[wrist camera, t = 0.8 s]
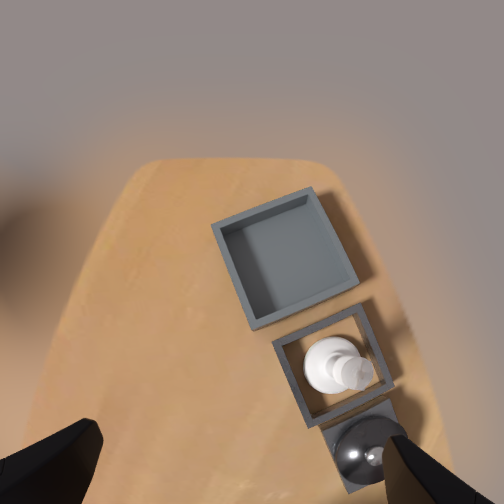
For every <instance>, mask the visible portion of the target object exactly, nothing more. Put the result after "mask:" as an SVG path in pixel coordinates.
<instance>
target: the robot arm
mask: <svg viewBox="0 0 504 504" xmlns="http://www.w3.org/2000/svg"><path fill="white" fill-rule="evenodd" d="M102 446H103V436H102V433H101V431H100V429H99V426H98V424H97V422H96V421H94V420H91V419H88V418H83V419H81V420H79V421H77V422H75V423H74V424H72V425H70V426H68V427H66V428H64V429H62V430H60V431H58V432H56V433H54V434H52V435H51V436H49V437H47V438H45V439H43V440H41V441H39V442H37V443H35V444H33V445H31V446H29V447H26V448H24V449H22V450H20V451H18V452H16V453H14V454H12V455H10V456H8V457H6V458H3V459H1V460H0V504H82V501H83V499H84V497H85V494H86V492H87V490H88V487H89V485H90V483H91V480H92V478H93V475H94V472H95V468H96V465H97V462H98V458H99V455H100V452H101V449H102ZM382 464H383V471H384V478H385V486H386V494H387V500H388V504H495V503H493V502H492V501H490V500H489V499H487V498H486V497H484V496H483V495H481V494H480V493H478V492H476V490H474V489H473V488H472V487H470V486H469V485H467V484H466V483H465V482H464V481H462V480H461V479H460V478H458V477H457V476H456V475H454V474H453V473H452V472H450V471H449V470H448V469H446V468H445V467H444V466H442V465H441V464H440V463H439V462H437V461H436V460H435V459H433V458H432V457H431V456H430V455H428V454H427V453H426V452H424V451H423V450H422V449H421V448H419V447H418V446H417V445H416V444H414V443H413V442H412V441H411V440H409V439H408V438H407V437H406V436H404V435H403V434H397V435H391V436H389V437H388V439H387V442H386V444H385V447H384V449H383V452H382Z"/></svg>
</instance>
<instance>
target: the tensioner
mask: <svg viewBox="0 0 504 504" xmlns="http://www.w3.org/2000/svg"><path fill="white" fill-rule="evenodd" d="M350 315H353V317H354V320H355V322H356V324H357V327H358V329H359V331H360V334H361V336H362V338H363V341H364V343H365V346H366V348H367V350H368V353H369V355H370V358H371V360H372V363H373V365H374V368H375V370H376V373H377V375H378V378H379V380H380V382H379V383H377V384H375V385H373V386H371V387H369V388H367V389H365V390H364V391H361V392H359V393H357V394H355V395H353V396H351V397H349V398H347V399H345V400H343V401H341V402H339V403H337V404H334V405H332V406H330V407H328V408H326V409H323V410H321V411H319V412H317V413H314V414H312V415H310V412H309V410H308V408H307V405H306V403H305V401H304V398H303V396H302V393H301V391H300V389H299V386H298V384H297V382H296V379H295V377H294V374H293V372H292V370H291V367H290V365H289V362H288V360H287V358H286V355H285V353H284V350H283V348H282V346H283V345H285V344H288V343H290V342H292V341H295V340H297V339H299V338H302V337H304V336H306V335H309V334H311V333H313V332H315V331H318V330H320V329H322V328H324V327H326V326H329V325H331V324H333V323H335V322H337V321H339V320H342V319H344V318H346V317H348V316H350ZM272 344H273V347H274V349H275V352H276V354H277V356H278V359H279V361H280V364H281V366H282V368H283V371H284V373H285V375H286V378H287V380H288V383H289V385H290V387H291V390H292V392H293V394H294V397H295V399H296V402H297V404H298V406H299V409H300V411H301V413H302V416H303V418H304V420H305V423H306V425H307V427H308V429H309V428H311V427H313V426H316V425H318V424H320V423H323V422H325V421H327V420H330V419H332V418H334V417H336V416H338V415H340V414H343V413H345V412H347V411H349V410H351V409H353V408H355V407H357V406H359V405H361V404H363V403H365V402H367V401H369V400H371V399H373V398H375V397H376V396H378V395H380V394H382V393H384V392H386V391H387V390H389V389H391V388H393V387H395V386H394V383H393V380H392V378H391V375H390V372H389V370H388V367H387V365H386V362H385V360H384V357H383V355H382V352H381V350H380V347H379V345H378V342H377V340H376V337H375V335H374V333H373V330H372V328H371V326H370V323H369V321H368V319H367V316H366V314H365V312H364V309H363V307H362V305H361V303H358V304H356V305H354V306H352V307H350V308H348V309H345V310H343V311H341V312H339V313H337V314H335V315H333V316H330V317H328V318H326V319H324V320H322V321H319V322H317V323H315V324H313V325H310V326H308V327H306V328H303V329H301V330H299V331H296V332H294V333H292V334H289V335H287V336H285V337H282V338H280V339H277V340H275V341H272ZM318 426H319V428H320V430H321V433H322V435H323V437H324V440H325V442H326V445H327V447H328V449H329V452H330V454H331V456H332V459H333V461H334V463H335V466H336V468H337V470H338V473H339V475H340V477H341V480H342V482H343V485H344V487H345V488H346V490H347V492H348V494H350V493H353V492H355V491H357V490H359V489H361V488H364V487H366V486H368V485H371V484H375V483H378V482H381V481H383V480H385V478H384V471H383V464H382V452H383V449H384V447H385V444H386V442H387V439H388V437H389V436H391V435H397V434H403V435H404V436H406V437H407V438H408V436H407V434H406V432H405V430H404V428H403V427H402V426H401V425H399V423H398V420H397V417H396V414H395V412H394V409H393V406H392V403H391V401H390V398H388V397H385V396H383V395H380V396H379V397H377V398H375V399H373V400H371V401H369V402H367V403H365V404H363V405H361V406H359V407H357V408H355V409H353V410H351V411H349V412H347V413H345V414H343V415H341V416H339V417H336V418H334V419H332V420H330V421H328V422H325V423H323V424H321V425H318Z"/></svg>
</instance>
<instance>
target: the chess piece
mask: <svg viewBox="0 0 504 504" xmlns="http://www.w3.org/2000/svg"><path fill="white" fill-rule="evenodd" d="M371 362H372V361H368V360H367V359H366V358H363V357H360V354H359V352H358V350H357V348H356V347H355V346H354V345H353V344H352V343H351V342H349V341H348V340H346V339H344V338H341V337H326V338H323V339H321V340H319V341H317V342H316V343H314V344H313V345H312V346H311V347H310V349H309V350H308V352H307V353H306V356H305V358H304V363H303V371H304V375H305V378H306V380H307V382H308V383H309V384H310V385H311V386H312V387H313V388H314V389H315V390H317V391H319V392H322V393H327V394H336V393H340V392H343V391H345V390H347V389H348V388H350V389H353V390H362V391H364V389H365V387H366V386H367V385H368V384H369V383H370V382H371V380H372V378H373V366H372V364H371Z"/></svg>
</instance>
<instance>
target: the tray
mask: <svg viewBox="0 0 504 504" xmlns="http://www.w3.org/2000/svg"><path fill="white" fill-rule="evenodd" d="M211 227H212V230H213V232H214V235H215V238H216V240H217V243H218V246H219V248H220V251H221V254H222V256H223V259H224V261H225V264H226V267H227V269H228V272H229V274H230V277H231V279H232V282H233V285H234V287H235V290H236V292H237V295H238V297H239V300H240V302H241V305H242V307H243V310H244V312H245V315H246V317H247V320H248V322H249V325H250V327H251V330H252V331H256V330H258V329H261V328H263V327H266V326H268V325H271V324H273V323H276V322H278V321H280V320H283V319H285V318H288V317H290V316H292V315H295V314H297V313H299V312H302V311H304V310H306V309H309V308H311V307H313V306H316V305H318V304H320V303H322V302H325V301H327V300H329V299H331V298H333V297H336V296H338V295H340V294H342V293H344V292H346V291H349V290H351V289H353V288H354V287H355V286H357V285H358V284H359V283H360V282H359V280H358V277H357V275H356V273H355V271H354V269H353V267H352V265H351V263H350V260H349V258H348V256H347V254H346V252H345V250H344V248H343V246H342V244H341V242H340V240H339V238H338V236H337V234H336V232H335V230H334V228H333V226H332V224H331V222H330V220H329V218H328V217H327V215H326V213H325V211H324V209H323V207H322V205H321V203H320V201H319V199H318V198H317V196H316V194H315V192H314V190H313V188H312V187H311V186H310V187H308V188H305V189H302V190H299V191H297V192H294V193H291V194H289V195H286V196H283V197H281V198H278V199H275V200H273V201H270V202H267V203H265V204H262V205H259V206H257V207H254V208H252V209H249V210H247V211H244V212H241V213H239V214H236V215H234V216H231V217H229V218H226V219H224V220H221V221H219V222H216V223H214V224H211Z"/></svg>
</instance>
